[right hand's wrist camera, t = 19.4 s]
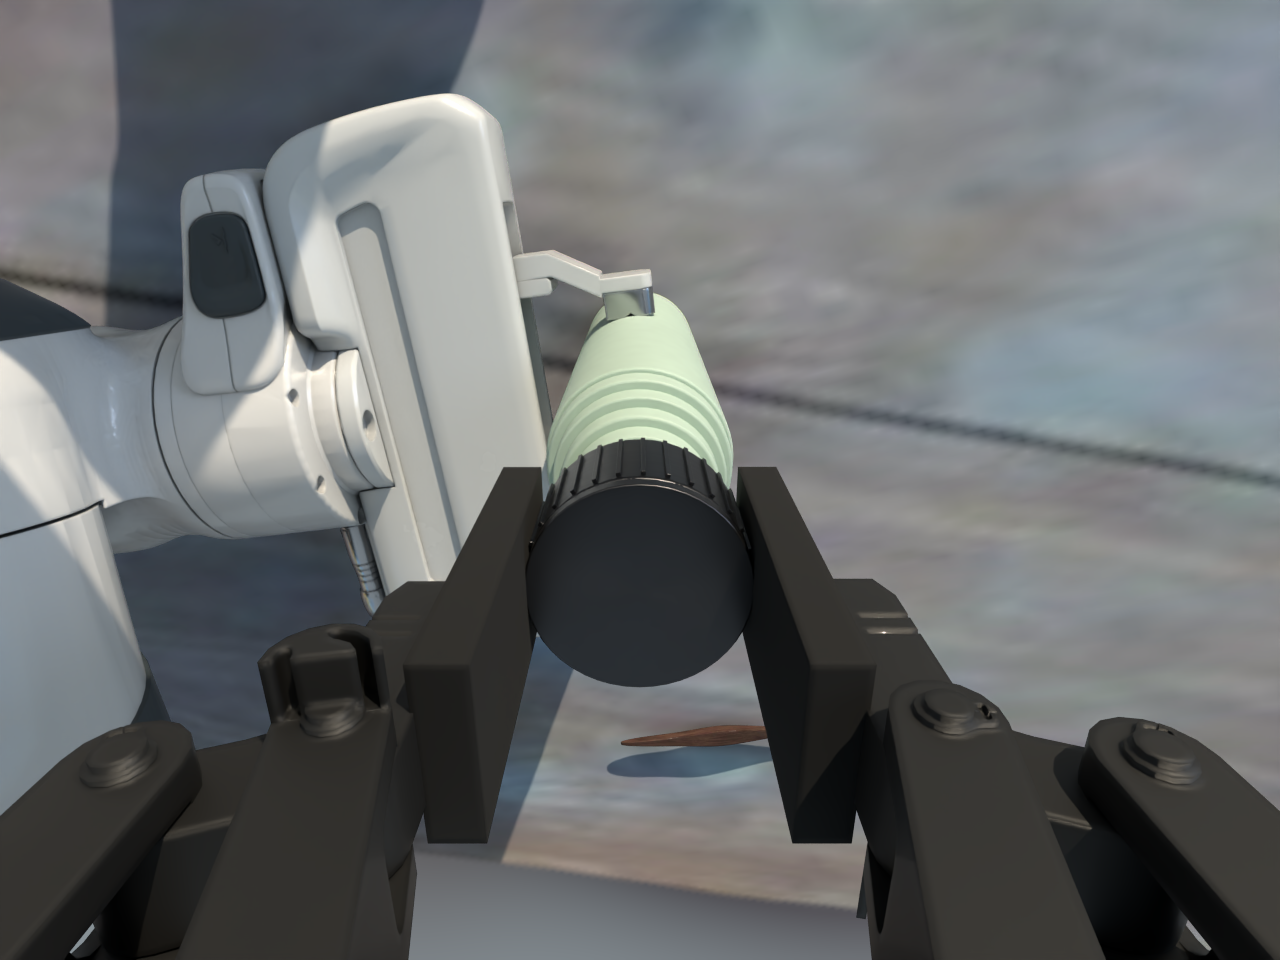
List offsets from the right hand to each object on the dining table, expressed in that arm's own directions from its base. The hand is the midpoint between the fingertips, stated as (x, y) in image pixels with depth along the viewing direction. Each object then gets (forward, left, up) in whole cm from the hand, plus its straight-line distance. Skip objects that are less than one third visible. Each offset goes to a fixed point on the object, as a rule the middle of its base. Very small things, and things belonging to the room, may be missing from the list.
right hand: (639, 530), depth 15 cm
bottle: (0, 0, -20) cm, 20 cm away
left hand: (0, -1, -14) cm, 14 cm away
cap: (0, 0, +2) cm, 2 cm away
